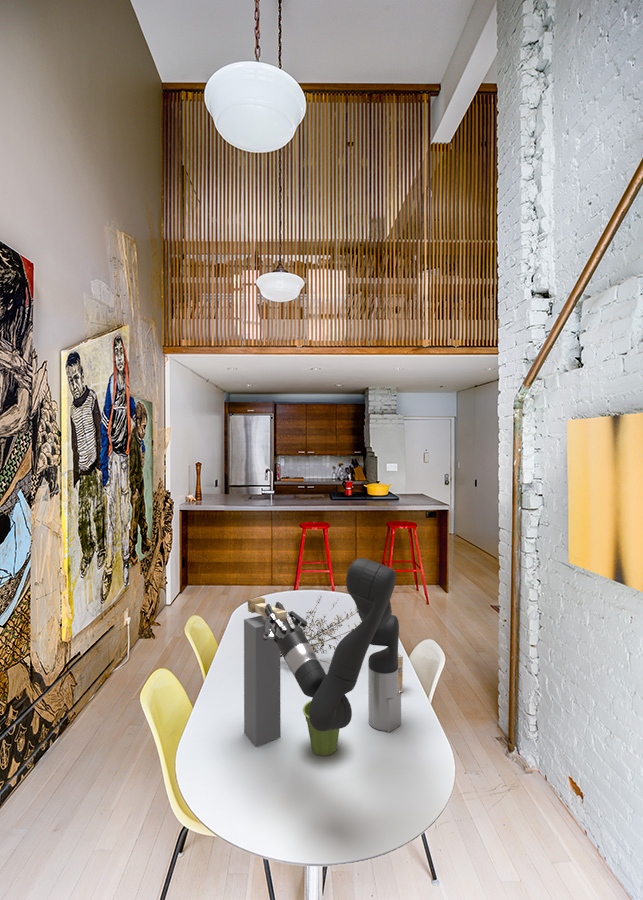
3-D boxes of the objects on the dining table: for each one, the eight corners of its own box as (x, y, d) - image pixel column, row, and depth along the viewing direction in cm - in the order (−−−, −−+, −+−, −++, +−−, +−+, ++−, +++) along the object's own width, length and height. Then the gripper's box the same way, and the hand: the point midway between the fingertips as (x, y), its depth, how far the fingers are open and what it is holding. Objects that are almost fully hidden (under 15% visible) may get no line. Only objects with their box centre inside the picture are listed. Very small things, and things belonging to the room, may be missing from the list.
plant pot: (320, 730, 139) (320, 693, 139) (352, 746, 131) (352, 706, 131) (294, 750, 130) (294, 710, 130) (326, 768, 122) (326, 726, 122)
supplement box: (381, 696, 158) (381, 658, 158) (375, 689, 162) (375, 652, 162) (403, 693, 160) (403, 655, 160) (397, 686, 164) (397, 650, 164)
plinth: (280, 737, 135) (280, 621, 135) (255, 747, 131) (255, 627, 131) (268, 723, 142) (267, 614, 142) (244, 732, 137) (243, 619, 138)
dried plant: (252, 632, 169) (363, 583, 167) (269, 610, 200) (364, 569, 198) (285, 712, 166) (399, 664, 163) (297, 677, 196) (394, 636, 194)
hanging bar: (290, 619, 127) (289, 607, 127) (275, 623, 124) (275, 610, 125) (261, 608, 142) (260, 597, 142) (248, 611, 139) (247, 599, 140)
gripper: (325, 638, 121) (296, 591, 133) (278, 651, 113) (252, 600, 126) (317, 657, 124) (289, 609, 137) (271, 671, 116) (246, 619, 129)
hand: (271, 605), depth 131 cm, fingers closed on hanging bar, 2 cm apart
